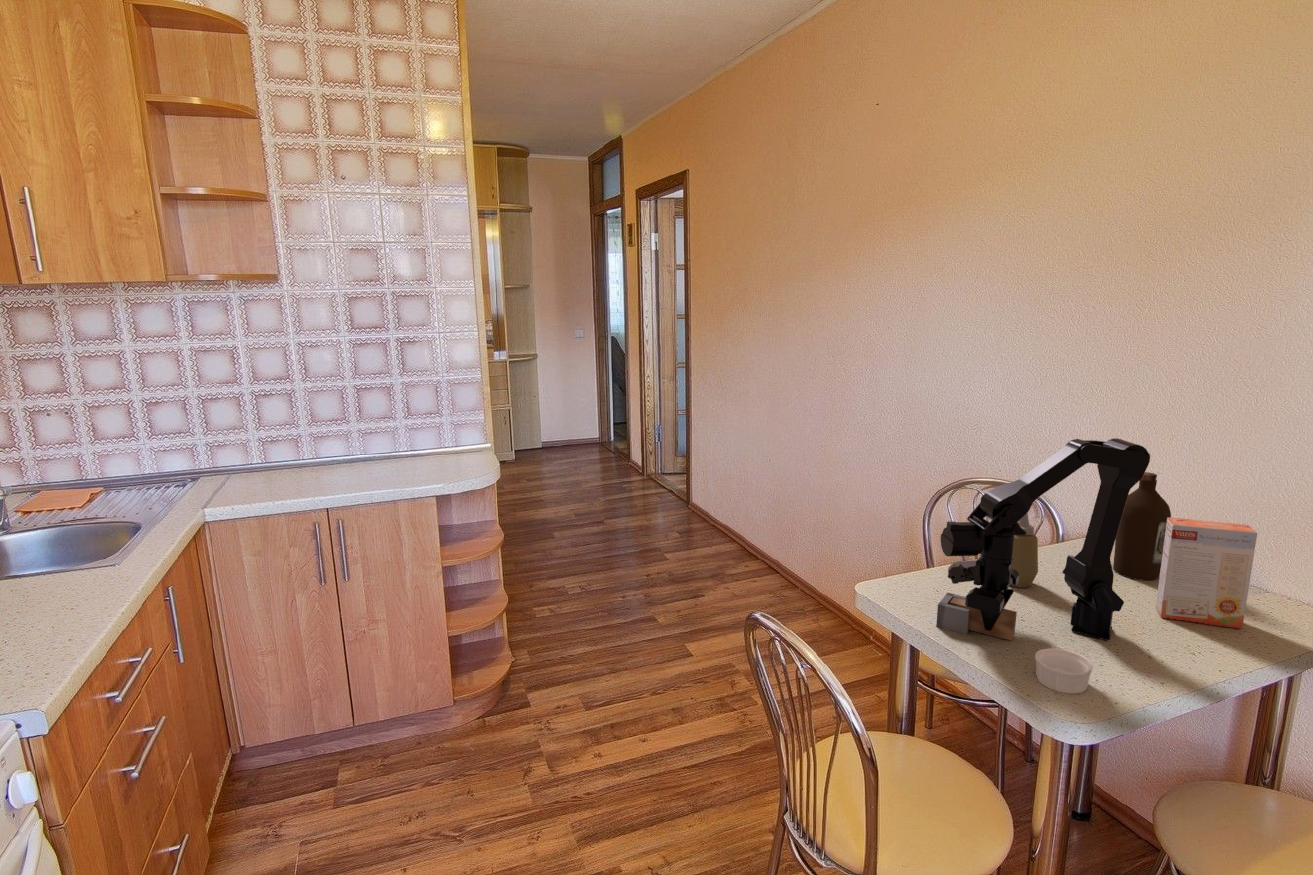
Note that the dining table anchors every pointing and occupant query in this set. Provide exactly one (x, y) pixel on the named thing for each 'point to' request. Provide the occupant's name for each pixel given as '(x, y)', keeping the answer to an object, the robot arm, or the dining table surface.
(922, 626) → the dining table surface
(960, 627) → the end cap
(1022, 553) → the squeeze bottle
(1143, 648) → the dining table surface
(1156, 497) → the olive oil
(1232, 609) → the cracker box
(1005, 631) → the slat
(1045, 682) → the ramekin
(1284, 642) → the dining table surface
